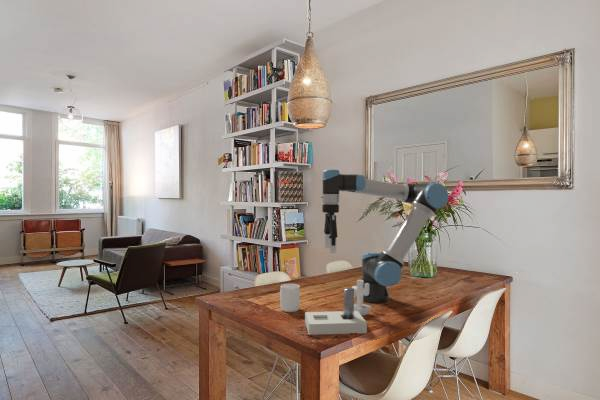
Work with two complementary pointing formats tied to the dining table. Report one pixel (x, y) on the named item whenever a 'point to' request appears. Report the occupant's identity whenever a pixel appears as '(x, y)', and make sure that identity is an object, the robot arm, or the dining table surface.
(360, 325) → the bore block
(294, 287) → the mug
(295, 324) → the dining table surface
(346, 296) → the steel pin
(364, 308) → the figurine
